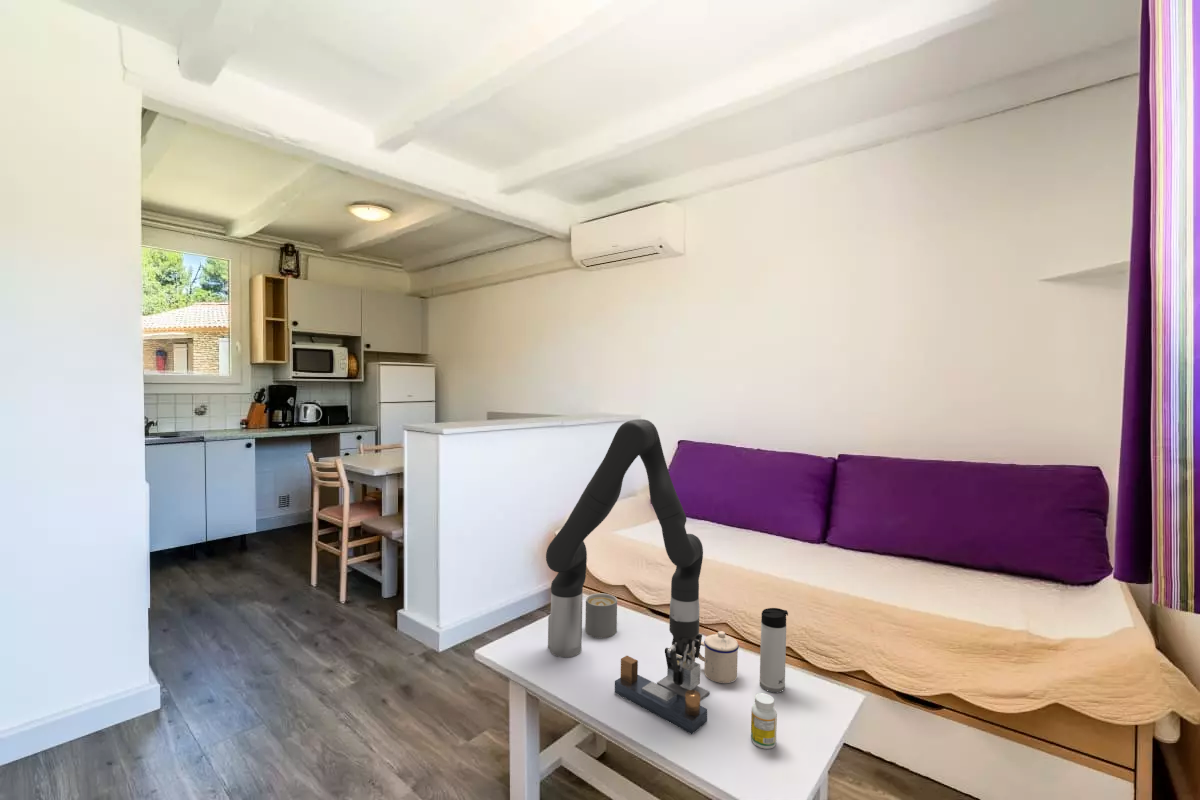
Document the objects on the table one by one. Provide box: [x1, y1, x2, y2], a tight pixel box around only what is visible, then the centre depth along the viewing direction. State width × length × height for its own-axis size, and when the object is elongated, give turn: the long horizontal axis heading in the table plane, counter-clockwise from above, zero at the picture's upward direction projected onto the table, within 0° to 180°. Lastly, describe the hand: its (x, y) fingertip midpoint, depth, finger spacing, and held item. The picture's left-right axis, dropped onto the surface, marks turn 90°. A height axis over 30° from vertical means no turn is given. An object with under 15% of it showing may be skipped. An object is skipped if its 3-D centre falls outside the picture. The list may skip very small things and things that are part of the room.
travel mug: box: [759, 607, 789, 693], centre depth 137 cm, size 6×7×20 cm
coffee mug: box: [584, 592, 618, 639], centre depth 168 cm, size 13×10×10 cm
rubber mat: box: [656, 675, 710, 702], centre depth 135 cm, size 12×6×1 cm, turn 47°
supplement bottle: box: [750, 692, 778, 750], centre depth 116 cm, size 5×5×10 cm
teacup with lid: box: [695, 630, 740, 684], centre depth 143 cm, size 12×9×12 cm
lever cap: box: [666, 654, 701, 690], centre depth 135 cm, size 7×4×6 cm, turn 47°
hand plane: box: [614, 655, 708, 735], centre depth 128 cm, size 23×6×8 cm, turn 47°
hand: (683, 679), depth 135 cm, fingers closed on lever cap, 4 cm apart
